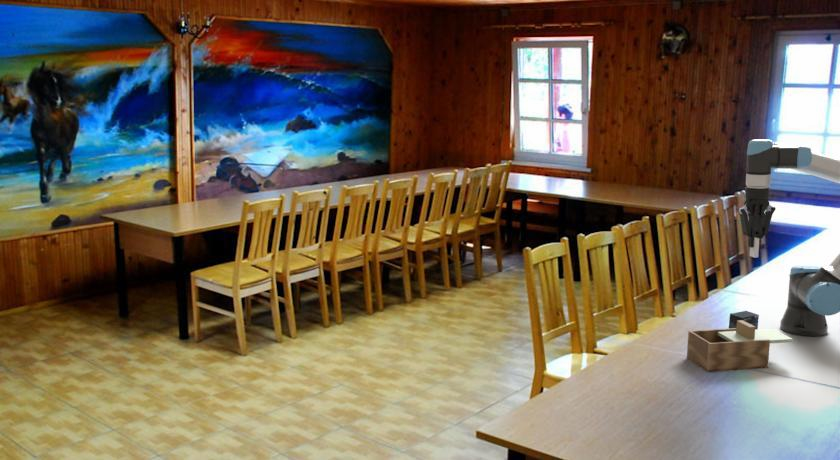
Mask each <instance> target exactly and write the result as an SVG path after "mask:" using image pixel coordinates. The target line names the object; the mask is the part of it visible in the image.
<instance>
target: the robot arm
mask: <svg viewBox="0 0 840 460" xmlns="http://www.w3.org/2000/svg"><path fill="white" fill-rule="evenodd" d="M746 151H747V152H746V171H745V172H746V174H745V175H746V176H745V186H746V187H745V188H744V189H745V190H744V197H745V200H744V203H743V206H742V207H738V208H737V212H738V215H739V219H740V224H741V230H742V235H743V236H745V237H747V238H748V240H747V241H748V242H747V246H748V247H749V254H748V255H749V257H751V258H755V259H756V258H759V252H760V251H759V249H760V248H761V246H762V239H764V237H765V236H767V235H768V231H769V228H770V224H771V221H772V217H773V214H774V212H775V211H776V207H775V206H772V205H771V204H770V201H769V199H770V193H771V188H770V186H771V177H772V169H774V170H776V169H790V170H794V171H797V172H801V173H805V174H807V175H811V176H813V177H814V176H815V177H818V178H819V179H820V178H821V179H824V180H827V181H830V182H833V183H837V184H840V159H838V158H834V157H831V156H829V155H828V156H827V155H825V154H821V153H818V152H814V151H812V148H811V146H809V145H804V144H803V145H802V144H799V145H798V144H797V145H794V144H788V143H784V142H782V141H773V140H771V139H761V138H760V139H759V138H758V139H751V140H749V141H748V144H747V149H746ZM788 282H789V284H788V292H787V293H788V297H787V305H786V309H785V311H784V314H783V315H782V318H781V320H780V326H779V327H780V329H781V330H783V331H784V332H787V333H790V334H794V335H796V336H797V335H798V336H804V337H805V336H806V337H820V336H824V335H827V334H828V329H829V326H828V321H827V319H826V316H828V317H829V316H834V315H836V314H838V313H840V253H838V254H837V256H836V257H835V258H834V259H833V261H832V262H831V263H830V264H829V265H823V266H815V265H794V266H792V267H791V268H790V273H789V281H788Z"/></svg>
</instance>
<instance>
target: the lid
mask: <svg viewBox="0 0 840 460" xmlns="http://www.w3.org/2000/svg"><path fill="white" fill-rule="evenodd" d="M718 335H719V336H720V337H722V338H724V339H726V340H727V341H729V342H734V341H750V340H765V339H769V340H770V344H782V343H784V344H785V343H793V340H794V339H793V338H792V337H789V335H786V334H784V333H782V332H780V331H778V330H776V329H774V328H758V329H755V326H753V325H751V324H749V323H747V322H745V321H743V320H738V321H737V326H736V331H723V332H718Z"/></svg>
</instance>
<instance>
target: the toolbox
mask: <svg viewBox="0 0 840 460" xmlns="http://www.w3.org/2000/svg"><path fill="white" fill-rule="evenodd" d="M723 331H736V328H729V327H728V328H715V329H714V328H713V329H701V330H700V329H698V330H688V331H687V332H688V333H687V347H686V348H687V350H686V359H688V360H689V361H691V362H692V363H693V364H695V365H696V366H698V367H699V368H701V369H702V370H703V371H705V372H707V373H717V372H730V371H731V370H733V371H747V370H758V369H759V370H761V369H768V368H769V358H770V356H769V355H770V346H771V345H770V344H771V343H770V340H769V339H765V340H750V341H734V342H729V341H727V340H726V339H724V338H722V337H720V336H719V335H718V332H723ZM731 372H732V371H731Z"/></svg>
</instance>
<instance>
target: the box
mask: <svg viewBox="0 0 840 460" xmlns="http://www.w3.org/2000/svg"><path fill="white" fill-rule="evenodd" d="M759 317H760V315H759V314H758V313H755V312H751V311H748V310H743V311H737V312H733V313H732V312H731V313H729V323H728V329H729V328H736V326H737V321H738V320H743V321H745V322H747V323H749V324H751V325H753V326H755V329H759Z"/></svg>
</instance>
